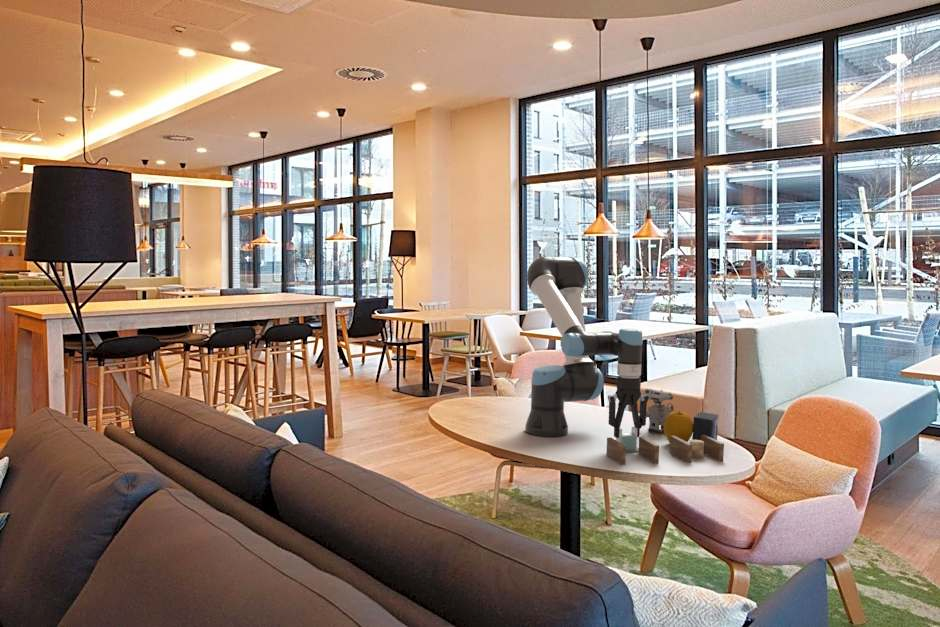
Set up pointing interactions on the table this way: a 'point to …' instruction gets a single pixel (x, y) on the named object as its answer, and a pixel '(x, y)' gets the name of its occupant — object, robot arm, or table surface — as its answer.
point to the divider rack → (676, 448)
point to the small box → (705, 425)
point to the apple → (678, 426)
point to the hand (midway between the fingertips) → (626, 447)
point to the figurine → (658, 409)
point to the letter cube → (629, 441)
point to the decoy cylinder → (697, 448)
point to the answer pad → (632, 450)
